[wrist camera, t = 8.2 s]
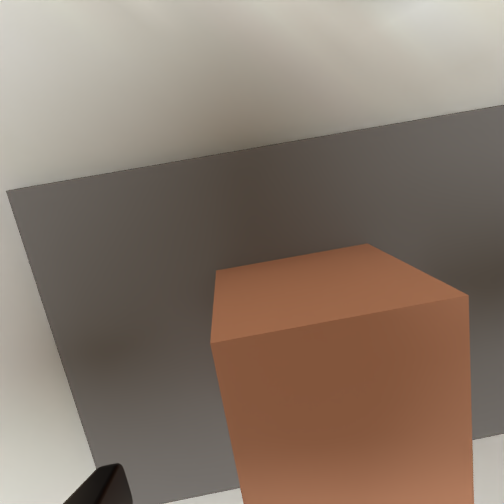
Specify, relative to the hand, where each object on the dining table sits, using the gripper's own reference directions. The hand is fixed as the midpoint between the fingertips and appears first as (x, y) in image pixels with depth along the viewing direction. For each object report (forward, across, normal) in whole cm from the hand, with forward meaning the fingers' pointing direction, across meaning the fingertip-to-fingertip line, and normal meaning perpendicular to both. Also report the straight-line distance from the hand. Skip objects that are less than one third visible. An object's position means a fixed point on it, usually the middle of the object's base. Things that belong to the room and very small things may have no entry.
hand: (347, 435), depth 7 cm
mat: (+5, 0, 0) cm, 5 cm away
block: (+5, 0, 0) cm, 5 cm away
